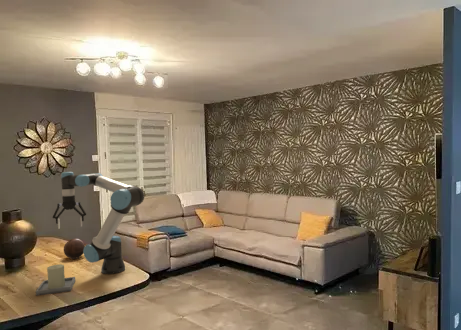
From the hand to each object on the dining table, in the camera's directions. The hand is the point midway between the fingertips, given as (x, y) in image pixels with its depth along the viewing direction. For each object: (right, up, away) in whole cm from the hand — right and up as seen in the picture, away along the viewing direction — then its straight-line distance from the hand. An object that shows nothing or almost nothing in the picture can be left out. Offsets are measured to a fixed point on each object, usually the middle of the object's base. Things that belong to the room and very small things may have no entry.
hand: (70, 227), depth 236 cm
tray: (+3, -31, -25) cm, 40 cm away
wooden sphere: (-13, -30, +37) cm, 50 cm away
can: (+3, -31, -25) cm, 39 cm away
